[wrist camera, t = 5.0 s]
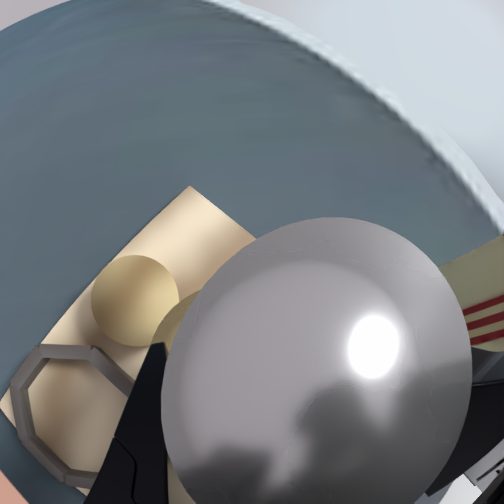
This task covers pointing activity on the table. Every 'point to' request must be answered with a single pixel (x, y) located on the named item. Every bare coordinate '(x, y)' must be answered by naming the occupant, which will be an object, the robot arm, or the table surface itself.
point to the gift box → (480, 292)
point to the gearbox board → (81, 383)
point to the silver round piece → (316, 371)
